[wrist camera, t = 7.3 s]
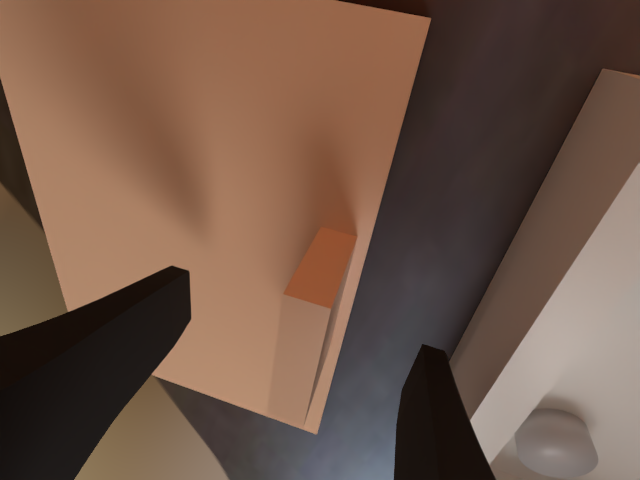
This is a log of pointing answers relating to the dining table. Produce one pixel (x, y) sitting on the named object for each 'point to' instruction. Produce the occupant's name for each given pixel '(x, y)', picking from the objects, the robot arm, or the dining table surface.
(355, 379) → the dining table surface
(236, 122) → the lid
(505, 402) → the parts tray
